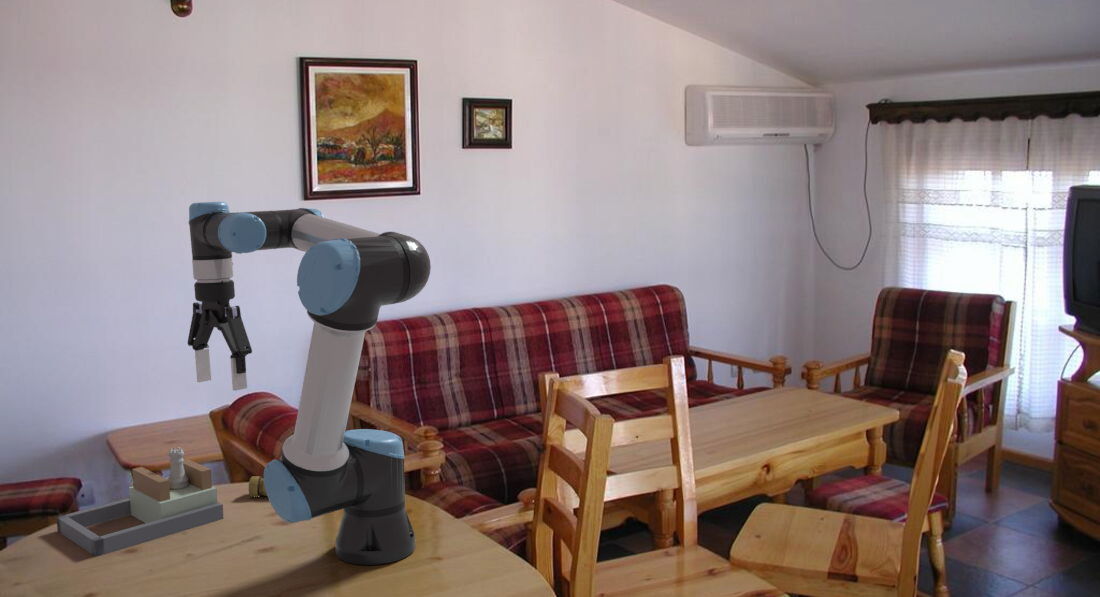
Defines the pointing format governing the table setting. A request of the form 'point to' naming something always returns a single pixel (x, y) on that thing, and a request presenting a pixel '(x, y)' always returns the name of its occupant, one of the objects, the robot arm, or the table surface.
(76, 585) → the table surface
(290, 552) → the table surface
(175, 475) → the rook chess piece
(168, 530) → the bay
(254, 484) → the gavel
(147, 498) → the mint green base plate
